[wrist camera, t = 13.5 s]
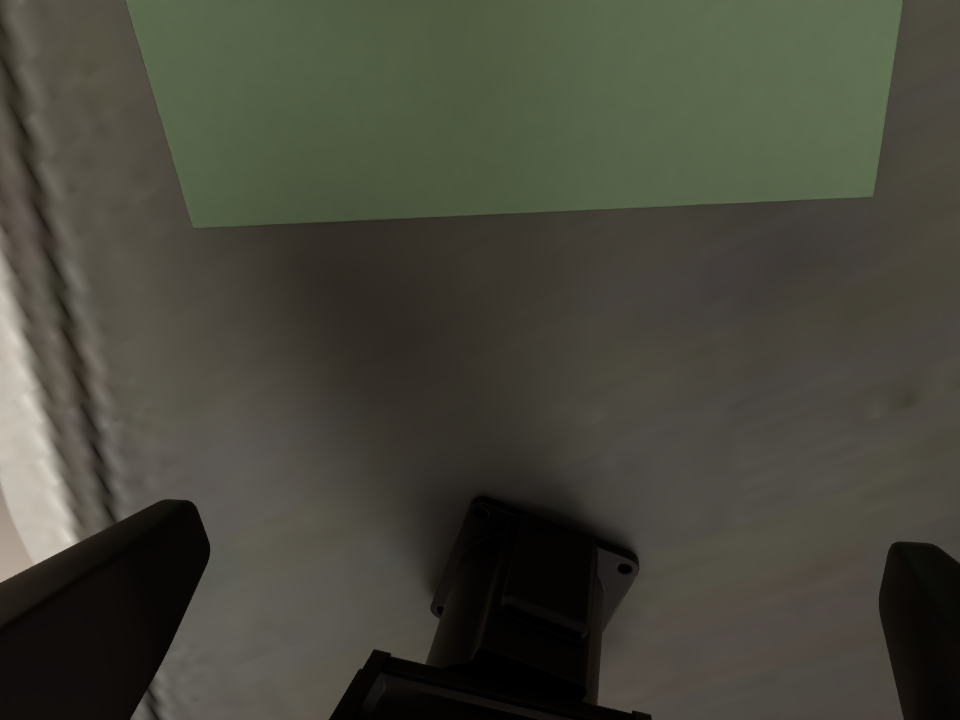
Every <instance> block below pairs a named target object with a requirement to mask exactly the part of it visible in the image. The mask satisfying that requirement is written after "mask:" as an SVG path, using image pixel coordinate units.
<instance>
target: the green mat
mask: <svg viewBox="0 0 960 720" xmlns="http://www.w3.org/2000/svg"><path fill="white" fill-rule="evenodd" d="M126 4H127V7H128V10H129V14H130V17H131V21H132V24H133V27H134V31H135V34H136V37H137V41H138V44H139V48H140V51H141V54H142V58H143V61H144V64H145V68H146V71H147V75H148V78H149V81H150V85H151V88H152V91H153V95H154V98H155V102H156V105H157V108H158V112H159V115H160V118H161V122H162V125H163V129H164V132H165V135H166V139H167V142H168V145H169V149H170V152H171V156H172V159H173V162H174V166H175V169H176V172H177V176H178V179H179V183H180V186H181V189H182V193H183V196H184V199H185V203H186V206H187V210H188V213H189V216H190V220H191V223H192V226H193V228H210V227H231V226H253V225H274V224H295V223H317V222H338V221H360V220H381V219H403V218H424V217H446V216H467V215H489V214H510V213H532V212H553V211H575V210H596V209H618V208H639V207H661V206H682V205H704V204H725V203H746V202H768V201H789V200H811V199H832V198H854V197H872V196H873V195H874V189H875V182H876V175H877V169H878V162H879V156H880V149H881V143H882V136H883V129H884V123H885V116H886V110H887V103H888V97H889V90H890V84H891V77H892V70H893V64H894V57H895V51H896V44H897V38H898V31H899V24H900V18H901V11H902V5H903V0H126Z"/></svg>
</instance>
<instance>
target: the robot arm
mask: <svg viewBox="0 0 960 720" xmlns="http://www.w3.org/2000/svg"><path fill="white" fill-rule="evenodd" d="M479 508H481V509H484V510H486V511H487V512H481V511H479V510H478V509H479ZM209 556H210V543H209V540H208V537H207V535H206V532H205V529H204V526H203V524H202V521H201V518H200V515H199V512H198V510H197V508H196V506H195V505H194V504H193V503H192V502H190V501H188V500H175V499H165V500H161V501H159V502H157V503H155V504H153V505H151V506H149V507H147V508H145V509H143V510H142V511H140V512H138V513H136V514H134V515H132V516H130V517H128V518H126V519H124V520H122V521H120V522H118V523H116V524H114V525H112V526H110V527H108V528H106V529H105V530H103V531H101V532H99V533H97V534H95V535H93V536H91V537H89V538H87V539H85V540H83V541H81V542H79V543H77V544H75V545H73V546H71V547H69V548H67V549H66V550H64V551H62V552H60V553H58V554H56V555H54V556H52V557H50V558H48V559H46V560H44V561H42V562H40V563H38V564H36V565H34V566H32V567H30V568H29V569H27V570H25V571H23V572H21V573H19V574H17V575H15V576H13V577H11V578H9V579H7V580H5V581H3V582H1V583H0V720H130V718H131V717H132V715H133V713H134V711H135V710H136V708H137V706H138V704H139V702H140V701H141V699H142V697H143V695H144V694H145V692H146V690H147V688H148V687H149V685H150V683H151V681H152V680H153V678H154V676H155V674H156V672H157V671H158V669H159V667H160V665H161V663H162V661H163V659H164V657H165V655H166V653H167V651H168V649H169V647H170V645H171V643H172V641H173V638H174V636H175V634H176V632H177V630H178V627H179V625H180V623H181V621H182V619H183V616H184V614H185V612H186V610H187V607H188V605H189V603H190V601H191V599H192V596H193V594H194V592H195V590H196V588H197V585H198V583H199V581H200V579H201V576H202V574H203V572H204V570H205V568H206V565H207V563H208V560H209ZM623 563H624V564H628V565H630V566H622V565H620V564H623ZM638 572H639V560H638V557H637V556H636V555H635V554H633V553H632V552H630V551H627V550H625V549H622V548H619V547H617V546H614V545H611V544H609V543H606V542H604V541H601V540H598V539H596V538H593V537H591V536H588V535H585V534H583V533H580V532H577V531H575V530H572V529H570V528H567V527H564V526H562V525H559V524H557V523H554V522H551V521H549V520H546V519H543V518H541V517H538V516H536V515H533V514H530V513H528V512H525V511H522V510H520V509H517V508H515V507H512V506H509V505H507V504H504V503H502V502H499V501H496V500H494V499H491V498H488V497H484V496H479V497H476V498H474V499H473V500H472V501H471V503H470V506H469V509H468V511H467V514H466V516H465V519H464V521H463V524H462V526H461V529H460V532H459V534H458V537H457V539H456V542H455V544H454V547H453V549H452V552H451V555H450V557H449V560H448V562H447V565H446V567H445V570H444V572H443V575H442V578H441V580H440V583H439V585H438V588H437V590H436V593H435V596H434V598H433V601H432V604H431V612H432V613H433V614H434V615H435V616H436V617H438V618H440V622H439V625H438V628H437V631H436V634H435V637H434V640H433V643H432V646H431V649H430V652H429V655H428V658H427V661H426V665H425V664H421V663H417V662H413V661H408V660H404V659H400V658H396V657H391V653H388V652H384V651H380V650H375V649H374V650H373V652H372V653H371V655H370V657H369V659H368V660H367V662H366V664H365V665H364V667H363V669H359V670H358V672H357V673H356V675H355V677H354V679H353V680H352V682H351V684H350V685H349V687H348V689H347V690H346V692H345V694H344V695H343V697H342V699H341V700H340V702H339V704H338V705H337V707H336V709H335V711H334V712H333V714H332V716H331V717H330V719H329V720H652V718H651V715H650V714H646V713H642V712H637V711H632V713H627V712H623V711H619V710H615V709H611V708H606V707H602V706H598V705H597V701H598V686H599V671H600V656H601V641H602V632H603V631H604V629H605V627H606V626H607V624H608V622H609V621H610V619H611V617H612V616H613V614H614V613H615V611H616V609H617V608H618V606H619V604H620V603H621V601H622V599H623V598H624V596H625V594H626V593H627V591H628V589H629V588H630V586H631V584H632V583H633V581H634V579H635V578H636V576H637V574H638ZM443 606H444V607H443ZM879 611H880V617H881V622H882V626H883V630H884V635H885V639H886V643H887V648H888V652H889V656H890V661H891V665H892V670H893V674H894V678H895V683H896V687H897V691H898V696H899V700H900V704H901V709H902V713H903V717H904V720H960V563H959V562H957V561H956V560H955V559H953V558H952V557H951V556H950V555H948V554H947V553H946V552H944V551H943V550H942V549H940V548H939V547H937V546H936V545H933V544H929V543H917V542H896V543H894V544H892V545H891V547H890V549H889V551H888V555H887V560H886V565H885V569H884V574H883V579H882V583H881V588H880V593H879Z"/></svg>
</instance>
